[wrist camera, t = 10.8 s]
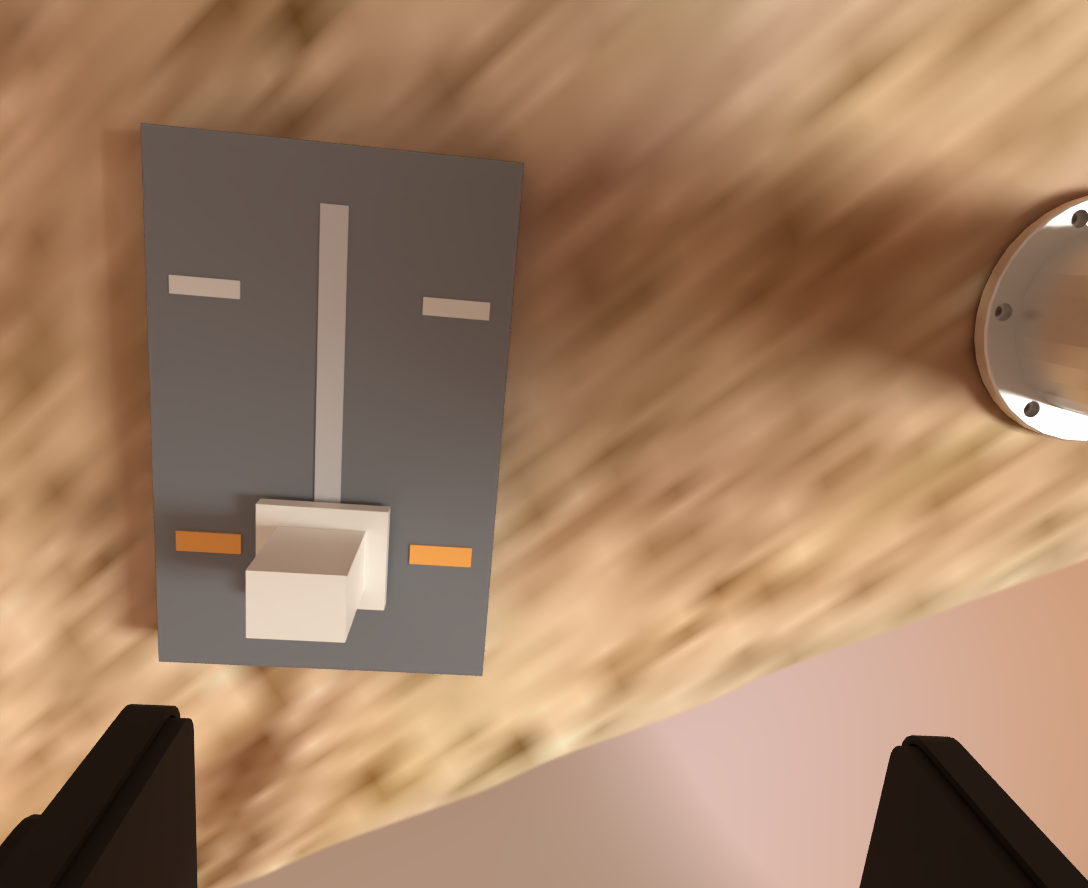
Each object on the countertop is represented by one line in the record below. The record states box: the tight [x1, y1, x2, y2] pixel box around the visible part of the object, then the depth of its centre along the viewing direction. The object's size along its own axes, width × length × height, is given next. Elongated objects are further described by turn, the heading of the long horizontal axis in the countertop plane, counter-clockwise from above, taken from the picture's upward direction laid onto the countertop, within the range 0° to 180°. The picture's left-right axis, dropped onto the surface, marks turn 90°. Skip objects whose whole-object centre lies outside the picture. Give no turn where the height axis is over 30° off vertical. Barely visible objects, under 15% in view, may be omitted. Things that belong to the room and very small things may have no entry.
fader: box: [246, 498, 390, 643], centre depth 35 cm, size 6×5×6 cm
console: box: [141, 123, 524, 676], centre depth 38 cm, size 16×25×3 cm, turn 175°
